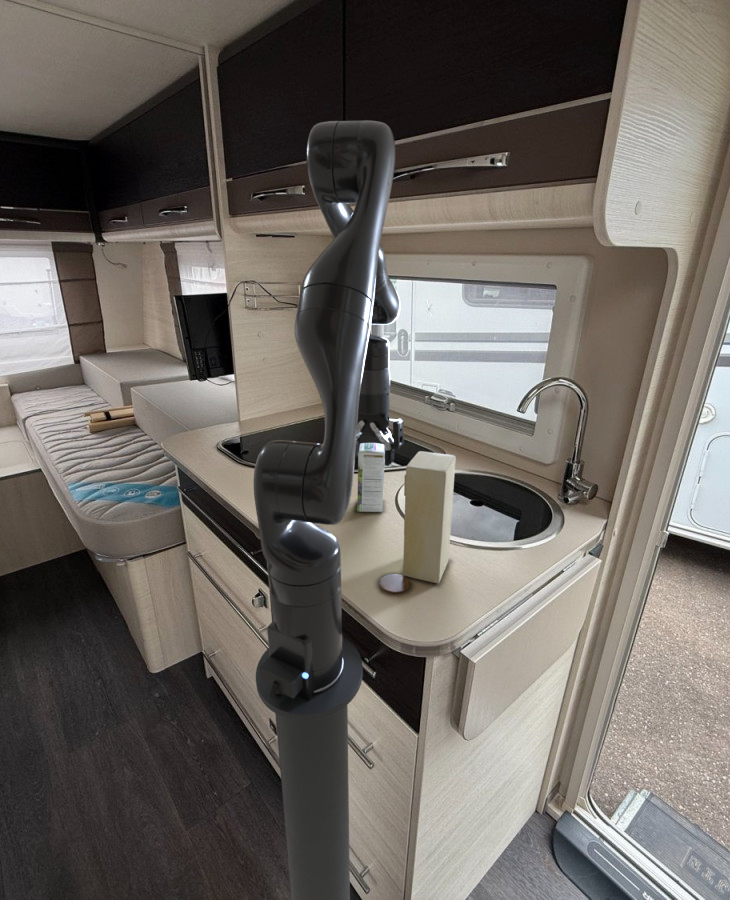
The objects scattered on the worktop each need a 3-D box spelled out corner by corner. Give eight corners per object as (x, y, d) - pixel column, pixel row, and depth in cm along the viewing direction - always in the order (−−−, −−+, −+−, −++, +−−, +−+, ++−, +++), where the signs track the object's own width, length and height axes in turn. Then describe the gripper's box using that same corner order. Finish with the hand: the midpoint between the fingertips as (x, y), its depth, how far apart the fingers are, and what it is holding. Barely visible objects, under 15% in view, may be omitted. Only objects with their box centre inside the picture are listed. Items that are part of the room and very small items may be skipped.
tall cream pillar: (410, 551, 90) (415, 449, 82) (448, 560, 87) (457, 455, 79) (398, 575, 83) (401, 465, 75) (438, 584, 80) (446, 472, 73)
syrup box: (358, 500, 110) (358, 442, 104) (383, 501, 109) (384, 442, 104) (357, 512, 104) (357, 451, 99) (383, 512, 104) (385, 452, 99)
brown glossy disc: (401, 597, 77) (401, 595, 77) (374, 587, 79) (374, 585, 79) (413, 581, 81) (413, 579, 81) (387, 572, 83) (387, 570, 83)
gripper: (333, 388, 97) (334, 460, 103) (395, 396, 91) (393, 473, 96) (351, 381, 103) (351, 449, 109) (410, 388, 97) (407, 461, 103)
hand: (371, 460), depth 103 cm, fingers open, 8 cm apart
